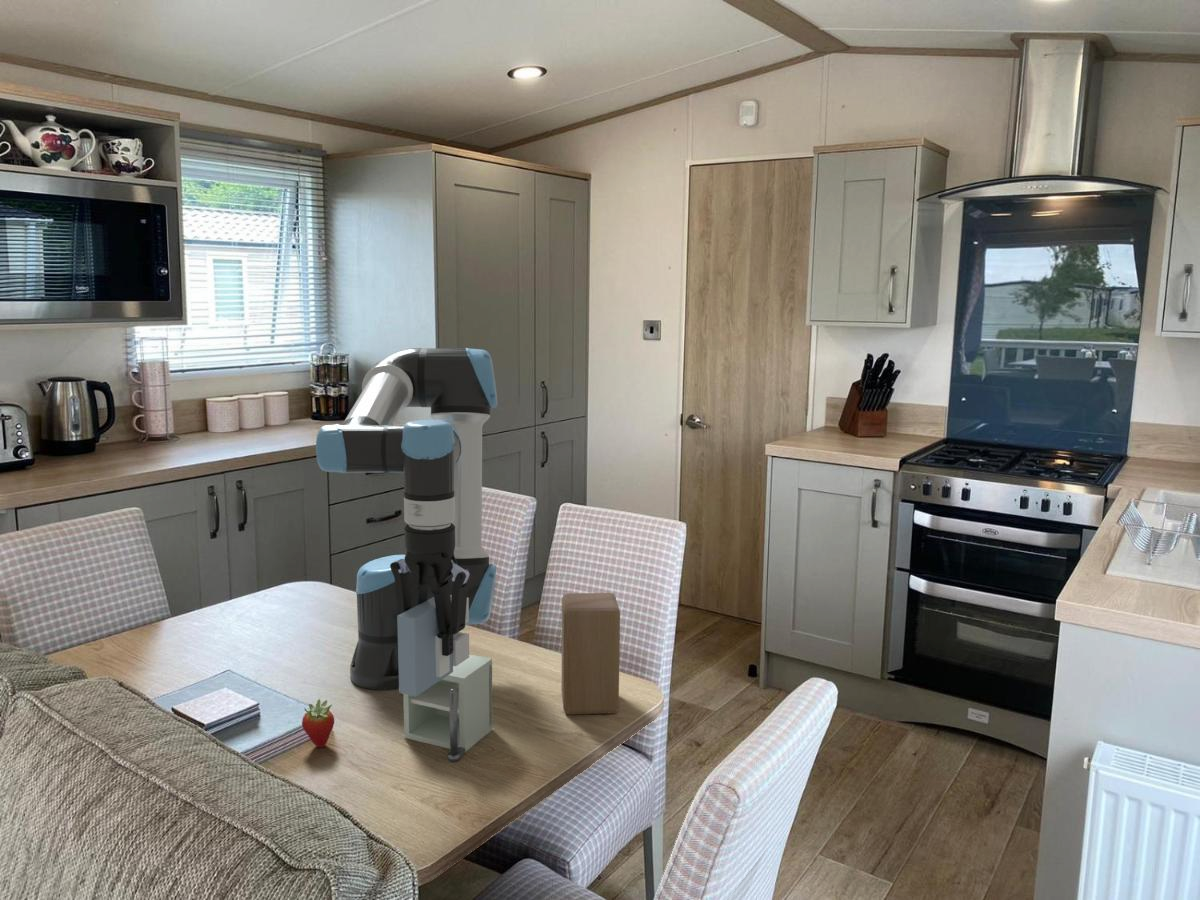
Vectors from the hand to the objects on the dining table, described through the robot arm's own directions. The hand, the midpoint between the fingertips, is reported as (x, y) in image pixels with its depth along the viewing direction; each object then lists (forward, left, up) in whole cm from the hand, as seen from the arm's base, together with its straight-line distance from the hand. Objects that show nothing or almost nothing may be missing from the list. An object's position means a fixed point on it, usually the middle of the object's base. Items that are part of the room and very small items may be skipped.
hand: (432, 671), depth 144 cm
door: (0, 0, -1) cm, 1 cm away
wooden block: (+11, +34, -18) cm, 40 cm away
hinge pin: (0, +6, -17) cm, 18 cm away
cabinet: (-6, +13, -17) cm, 22 cm away
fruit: (-23, 0, -18) cm, 29 cm away
